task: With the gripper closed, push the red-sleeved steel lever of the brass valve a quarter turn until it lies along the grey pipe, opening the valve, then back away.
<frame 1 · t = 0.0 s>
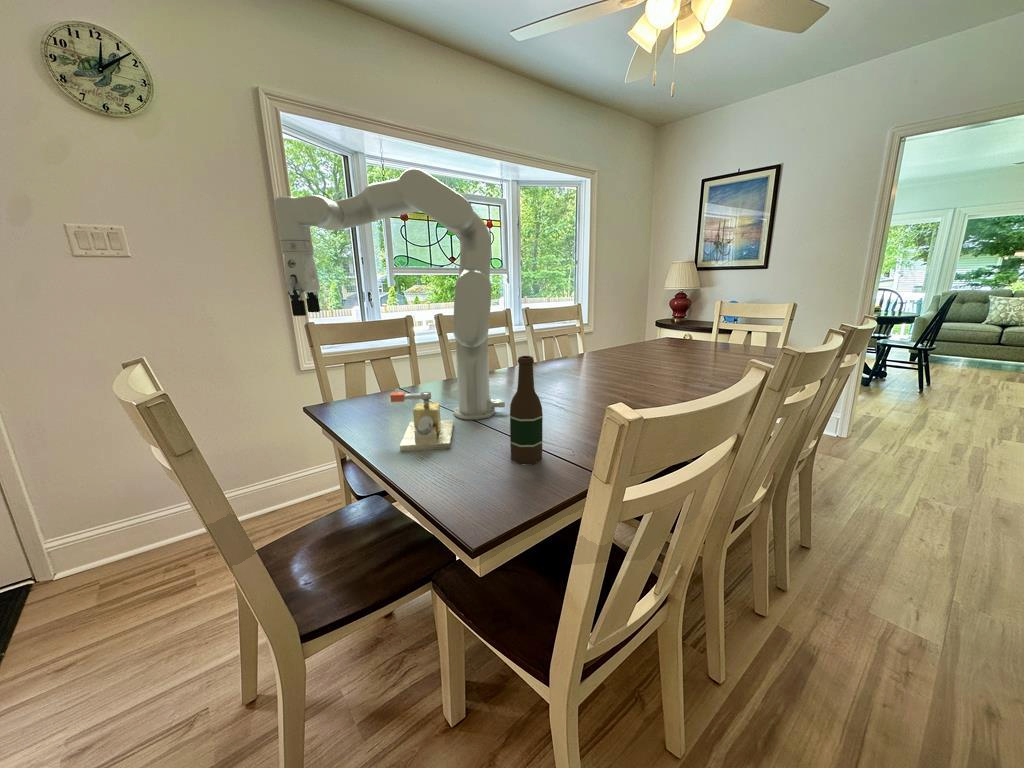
hand: (307, 313, 109), 31 cm above the table, tool pointing down, fingers open, 9 cm apart
beer bottle: (526, 458, 92), on the table
valve lever: (411, 396, 101), point 11 cm above the table, hinge at 0.0°
valve stand: (429, 436, 104), on the table
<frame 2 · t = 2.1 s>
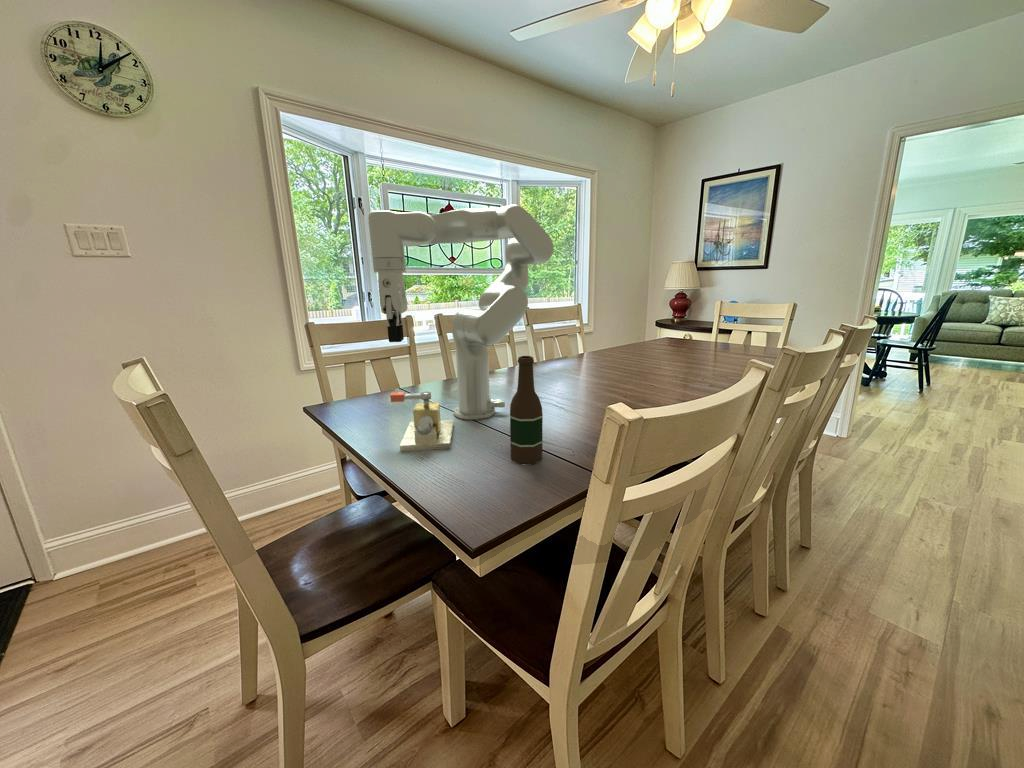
hand: (396, 340, 101), 25 cm above the table, tool pointing down, fingers closed
nothing on the table moved.
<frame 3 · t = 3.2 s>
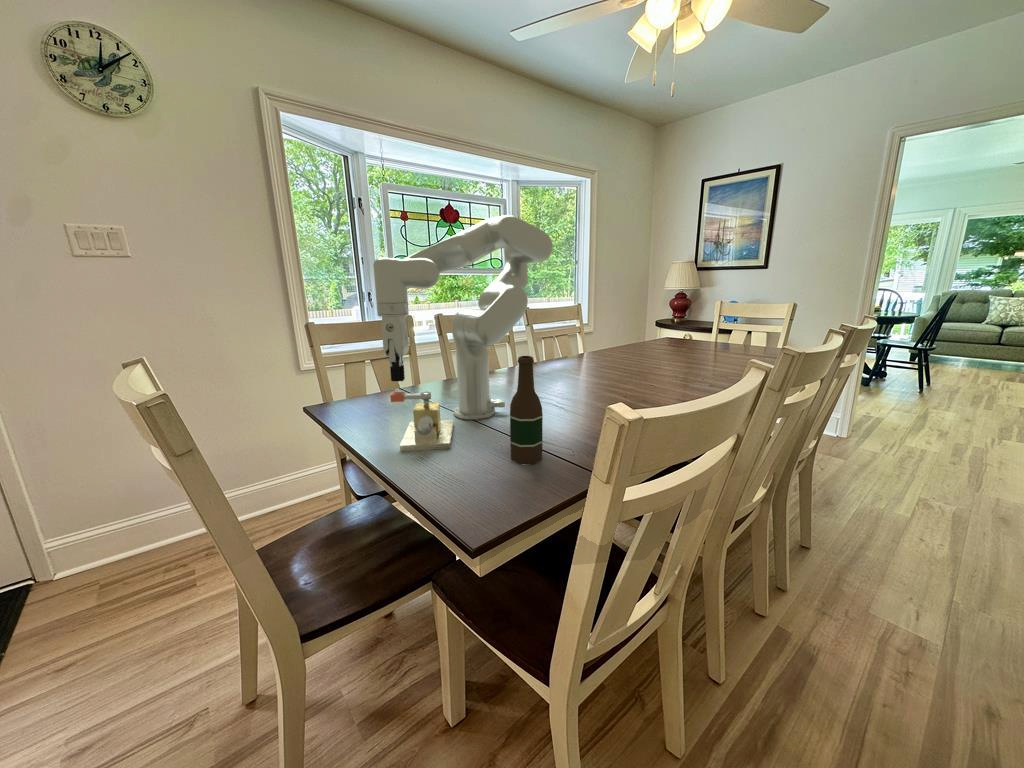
hand: (398, 380, 104), 15 cm above the table, tool pointing down, fingers closed
nothing on the table moved.
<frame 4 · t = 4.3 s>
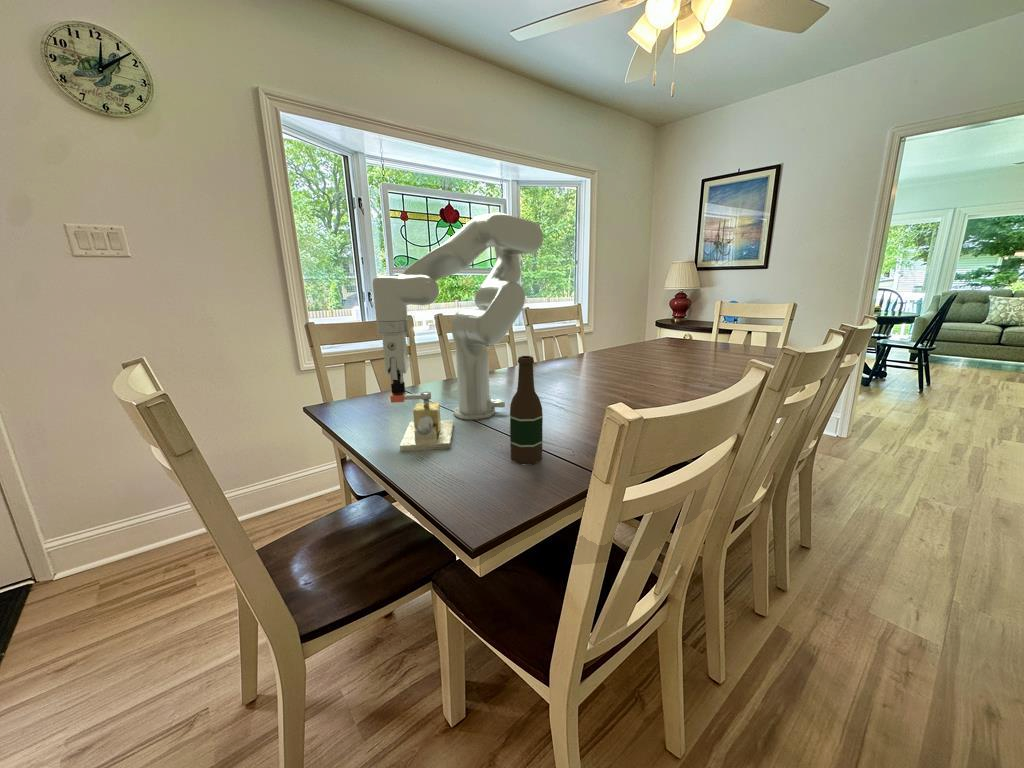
hand: (399, 397, 104), 10 cm above the table, tool pointing down, fingers closed
valve lever: (411, 396, 101), point 11 cm above the table, hinge at 3.3°, touching gripper
everything else where it was.
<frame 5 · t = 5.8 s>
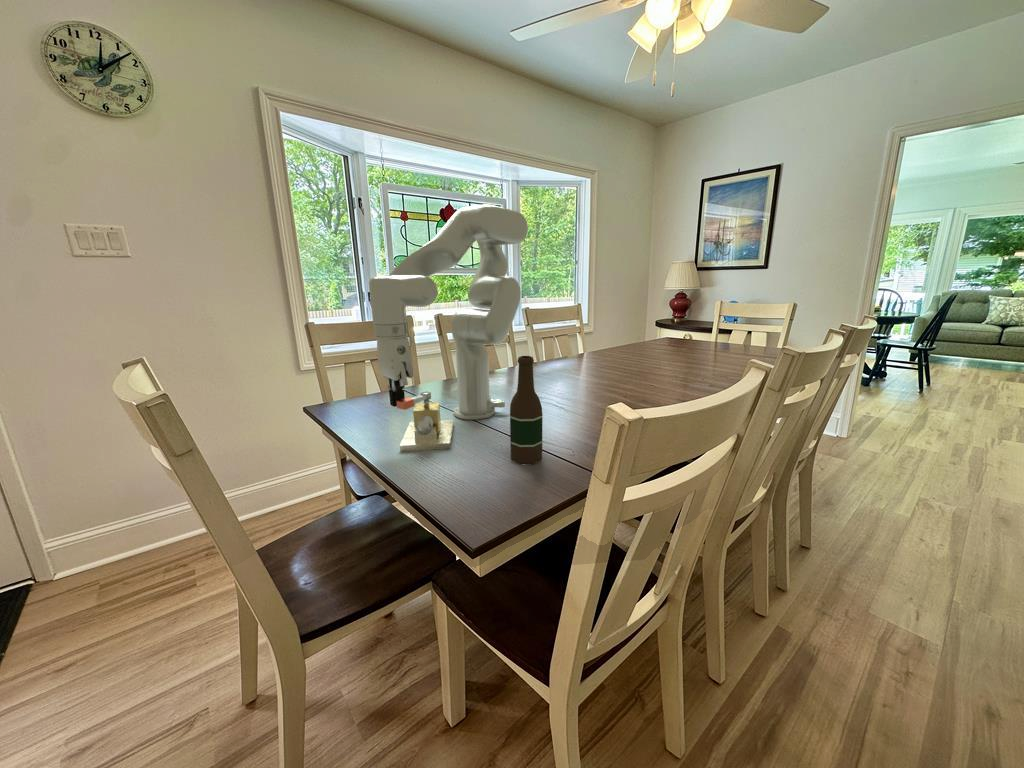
hand: (397, 404, 98), 10 cm above the table, tool pointing down, fingers closed
valve lever: (415, 399, 98), point 11 cm above the table, hinge at 53.3°, touching gripper
everything else where it was.
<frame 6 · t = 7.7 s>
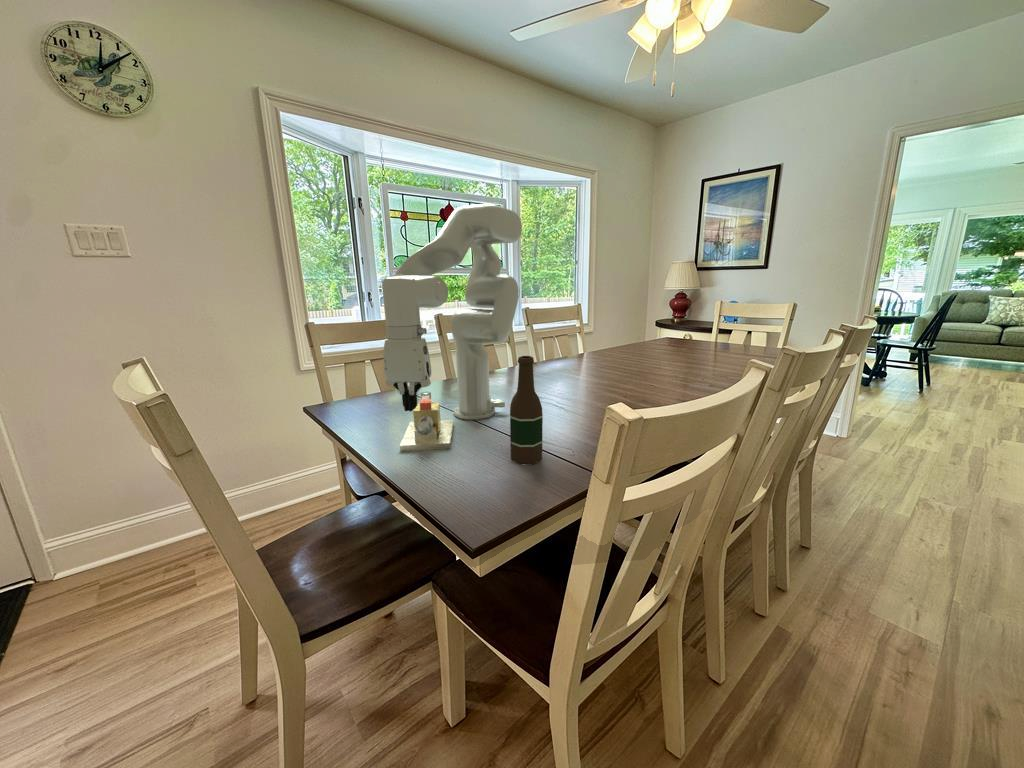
hand: (410, 409, 95), 10 cm above the table, tool pointing down, fingers closed
valve lever: (425, 400, 98), point 11 cm above the table, hinge at 96.3°
everything else where it was.
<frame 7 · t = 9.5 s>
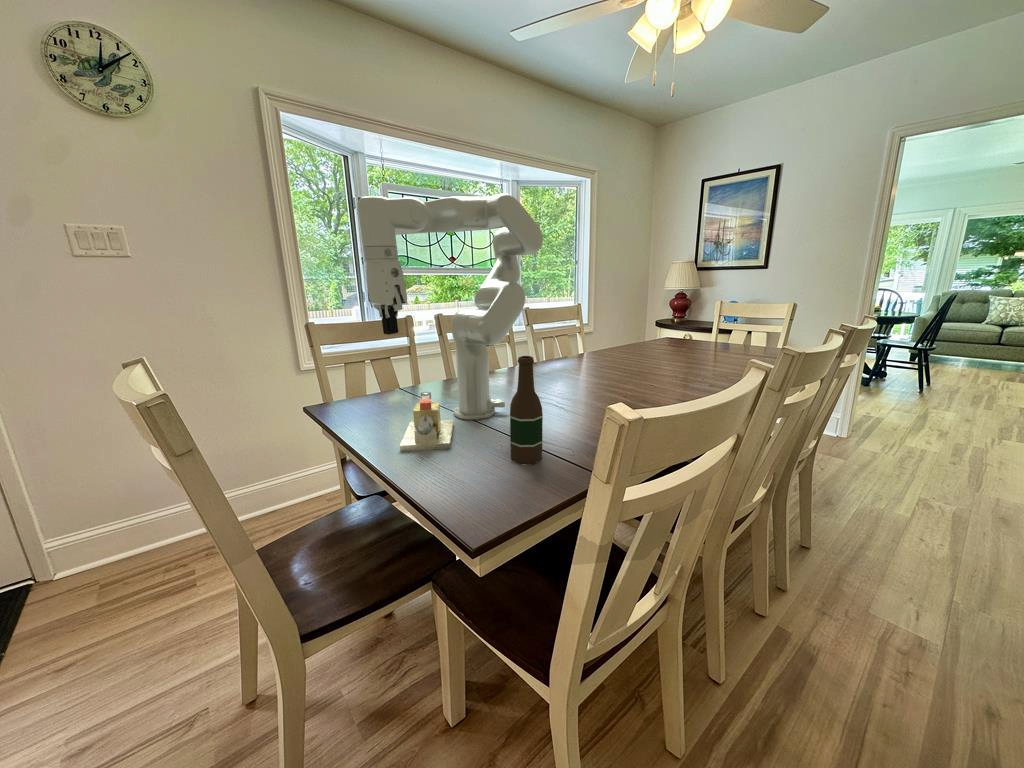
hand: (391, 333, 97), 27 cm above the table, tool pointing down, fingers closed
nothing on the table moved.
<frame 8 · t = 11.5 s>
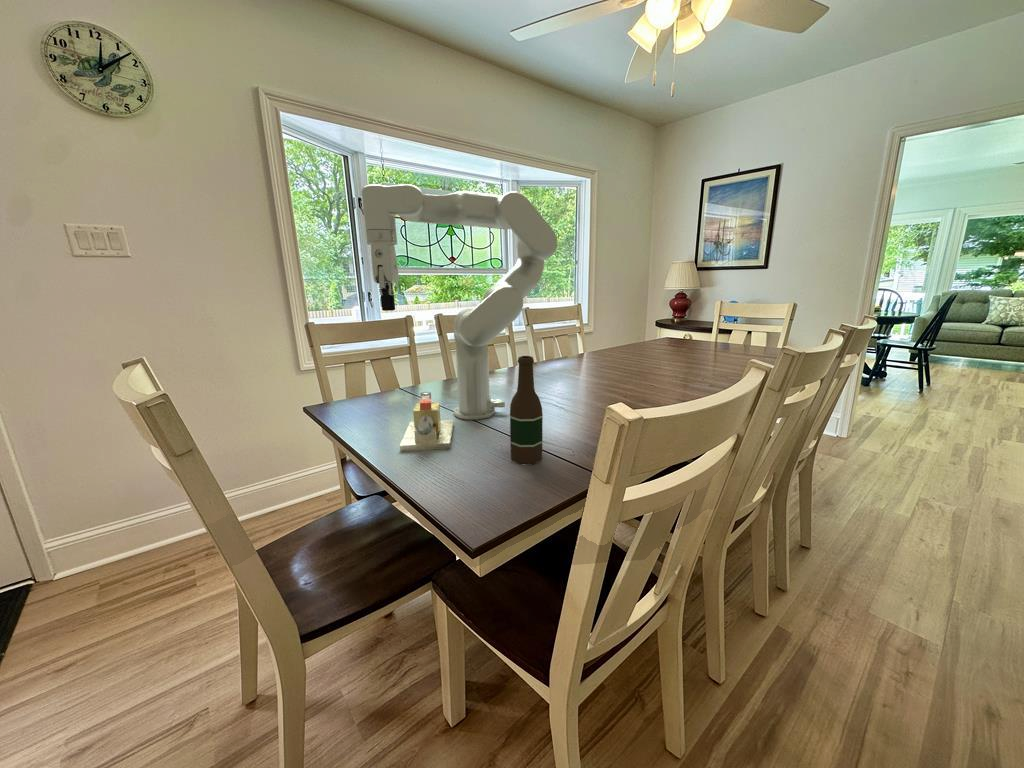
hand: (388, 310, 107), 32 cm above the table, tool pointing down, fingers closed
nothing on the table moved.
at the end: valve lever at +96° (first picture: +0°); beer bottle moved 0.2 cm from its start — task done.
